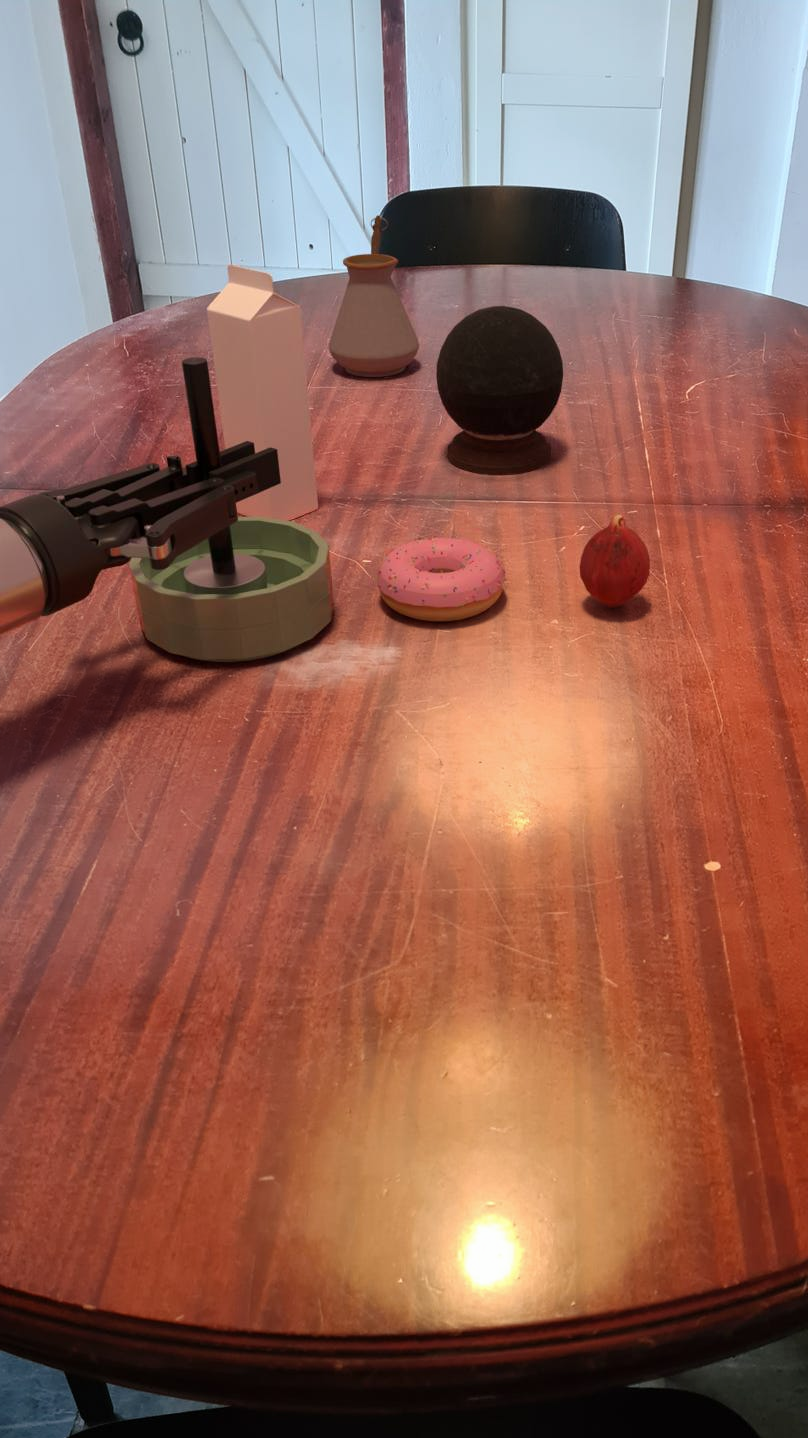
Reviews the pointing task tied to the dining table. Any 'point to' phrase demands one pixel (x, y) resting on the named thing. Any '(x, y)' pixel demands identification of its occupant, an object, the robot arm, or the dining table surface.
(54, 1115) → the dining table surface
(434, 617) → the doughnut
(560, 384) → the black ball on stand
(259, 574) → the paper towel holder
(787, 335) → the dining table surface
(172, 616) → the bowl
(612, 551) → the onion
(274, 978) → the dining table surface
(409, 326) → the coffee pot
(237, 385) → the milk
